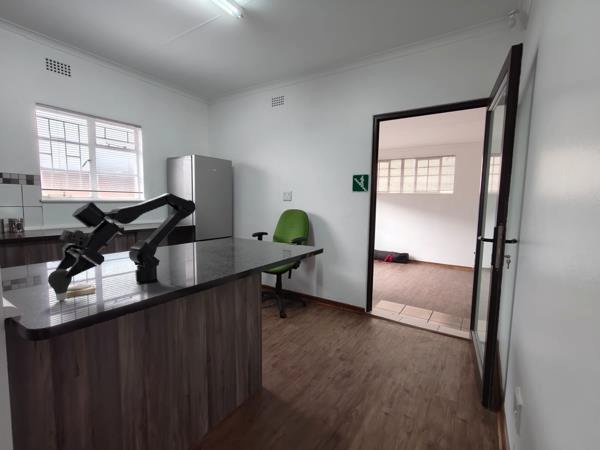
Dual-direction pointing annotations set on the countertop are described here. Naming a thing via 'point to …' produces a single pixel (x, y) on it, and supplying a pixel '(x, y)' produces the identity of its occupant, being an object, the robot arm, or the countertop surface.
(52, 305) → the countertop surface
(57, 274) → the light bulb
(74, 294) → the plinth
